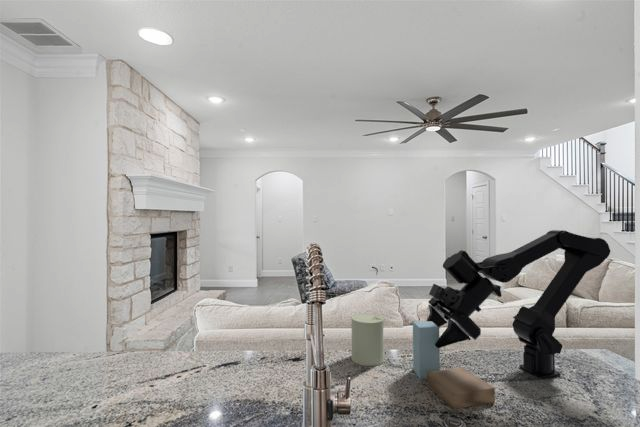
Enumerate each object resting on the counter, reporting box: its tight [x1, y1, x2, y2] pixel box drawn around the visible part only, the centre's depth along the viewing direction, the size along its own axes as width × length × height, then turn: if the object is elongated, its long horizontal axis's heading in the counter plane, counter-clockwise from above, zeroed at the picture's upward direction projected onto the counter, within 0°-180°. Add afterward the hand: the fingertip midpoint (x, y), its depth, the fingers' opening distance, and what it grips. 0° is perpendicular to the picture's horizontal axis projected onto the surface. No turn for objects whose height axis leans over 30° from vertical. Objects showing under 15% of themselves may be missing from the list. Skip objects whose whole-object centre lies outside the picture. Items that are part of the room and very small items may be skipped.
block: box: [412, 320, 441, 380], centre depth 81 cm, size 5×5×12 cm
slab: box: [426, 367, 496, 409], centre depth 72 cm, size 10×10×3 cm
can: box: [350, 312, 385, 367], centre depth 90 cm, size 9×9×12 cm
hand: (429, 339), depth 81 cm, fingers open, 9 cm apart
